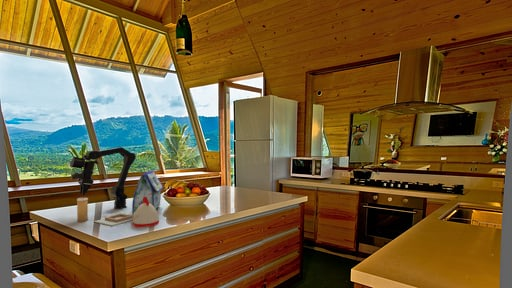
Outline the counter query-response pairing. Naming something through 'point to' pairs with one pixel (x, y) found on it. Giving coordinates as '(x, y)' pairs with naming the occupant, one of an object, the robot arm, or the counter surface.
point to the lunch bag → (147, 190)
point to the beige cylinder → (82, 209)
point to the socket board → (115, 219)
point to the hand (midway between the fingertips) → (82, 194)
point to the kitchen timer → (145, 215)
